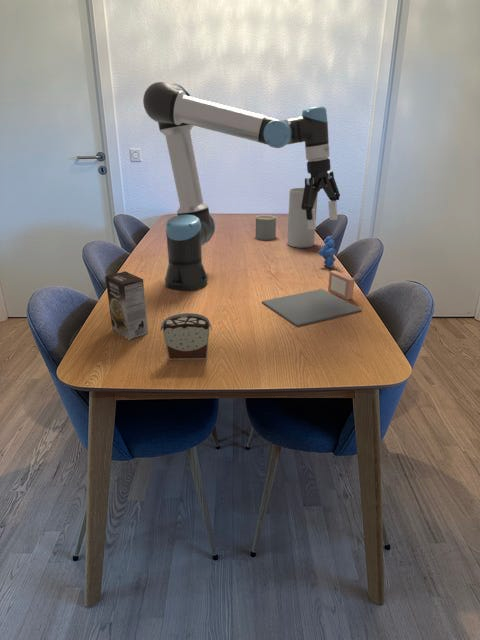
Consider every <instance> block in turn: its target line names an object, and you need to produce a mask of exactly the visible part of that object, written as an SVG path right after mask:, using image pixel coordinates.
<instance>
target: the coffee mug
mask: <svg viewBox="0 0 480 640" xmlns="http://www.w3.org/2000/svg"><path fill="white" fill-rule="evenodd" d="M276 233H277V217H276V216H273V215H267V214H266V215H257V216H255V239H257V240H262V241H272V240H275V239H276V235H277V234H276Z"/></svg>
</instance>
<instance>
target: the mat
mask: <svg viewBox="0 0 480 640" xmlns="http://www.w3.org/2000/svg"><path fill="white" fill-rule="evenodd" d="M261 304H263V306H266V307H267V308H269V309H270V310H271V311H273V312H274V313H276V314H277V315H279V316H280V317H282V318H283V319H285V320H286V321H288V322H289V323H290V324H292V325H294V326H295V327H297V328H298V327H302V326H305V325H310V324H313V323H318V322H323V321H326V320H330V319H335V318H339V317H343V316H347V314H348V315H351V313H352V314H356V313H359V312H358V311H360V312H362V310H363V309H362V308H360V307H358V306H357V305H355V304H353V303H350V302H348V300H346V299H344V298H342V297H340V296H338V295H336V294H334V293H332V292H330V291H328V290H325V289H323V288H320V289H314V290H310V291H304V292H299V293H295V294H289V295H286V296H285V295H284V296H281V297H275V298H271V299H265V300H262V301H261ZM355 312H356V313H355Z"/></svg>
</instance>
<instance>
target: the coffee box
mask: <svg viewBox="0 0 480 640" xmlns="http://www.w3.org/2000/svg"><path fill="white" fill-rule="evenodd" d="M104 278H105V284H106V286H105V287H106V292H107V299H108V300H107V301H108V305H109V313H110V321H111V327H112V328H111V329H112V330H113V331H114V330H115V331H114V332H116V333H117V332H118V333H117V334H119V335H120V334H121V335H120V336H121V337H123V336H124V337H123V338H125V337H126V338H125V339H127V340H128V339H131V340H133V339H132V338H134V339H136V338H135V337H137V338H139V337H142V336H144V334H145V335H148V334H149V332H148V331H149V330H148V328H149V327H148V319H147V309H146V308H147V307H146V296H145V285H144V284H145V283H144V278H141V277H139V276H137V275H135V274H132V273H131V272H128V271H125V270H124V271H121V272H115V273H112V274H111V273H110V274H108V275H107V274H106V275H105V276H104ZM147 333H148V334H147ZM141 335H142V336H141ZM138 336H139V337H138Z"/></svg>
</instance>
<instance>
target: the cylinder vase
mask: <svg viewBox="0 0 480 640" xmlns="http://www.w3.org/2000/svg"><path fill="white" fill-rule="evenodd" d="M304 188H305V187H293V188H289V197H288V221H287V241H286V243H287V245H288V246H289V247H293V248H299V249H304V248H305V249H306V248H311V247H312V246H314V245H315V238H316V237H315V236H316V235H315V234H316V229H308V223H307V215H306V210H303V209H302V208H301V205H302V200H303V194H304ZM318 194H319V193H318ZM318 194H317V197H316V200H315V203H314V206H313V209H315V221H316V220H317V207H318V196H319V195H318Z"/></svg>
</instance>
